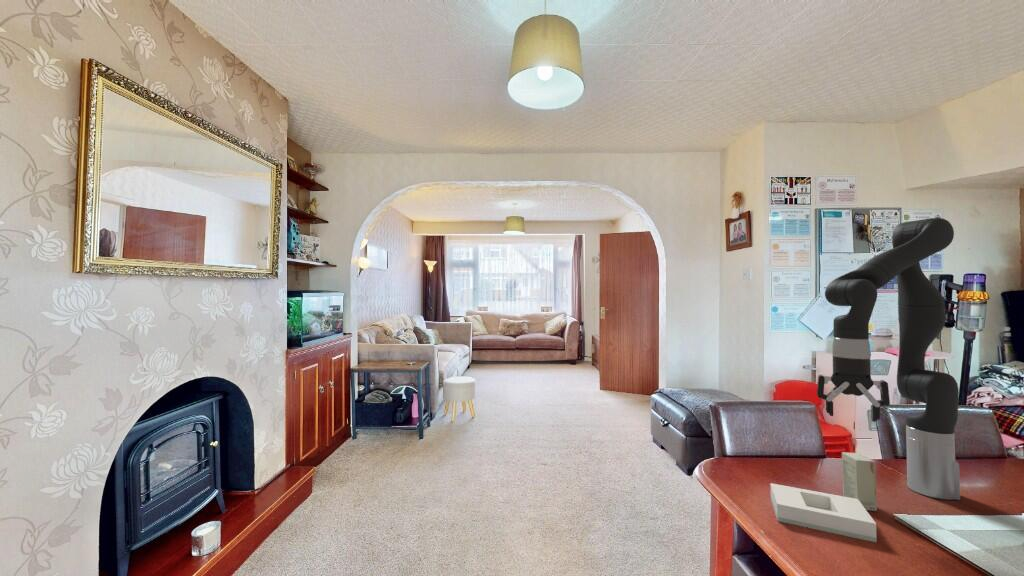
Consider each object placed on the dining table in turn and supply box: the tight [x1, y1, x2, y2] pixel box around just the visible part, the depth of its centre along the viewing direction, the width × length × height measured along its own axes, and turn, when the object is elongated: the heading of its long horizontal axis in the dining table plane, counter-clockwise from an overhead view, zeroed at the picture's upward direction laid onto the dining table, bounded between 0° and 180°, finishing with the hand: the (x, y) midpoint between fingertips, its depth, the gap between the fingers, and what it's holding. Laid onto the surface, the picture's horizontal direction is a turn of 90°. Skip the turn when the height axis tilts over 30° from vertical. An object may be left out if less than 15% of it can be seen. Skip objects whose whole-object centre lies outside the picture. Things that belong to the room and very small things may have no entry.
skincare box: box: [841, 451, 878, 512], centre depth 102 cm, size 6×4×12 cm
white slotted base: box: [769, 482, 878, 543], centre depth 95 cm, size 18×12×4 cm, turn 63°
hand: (851, 418), depth 103 cm, fingers open, 8 cm apart
